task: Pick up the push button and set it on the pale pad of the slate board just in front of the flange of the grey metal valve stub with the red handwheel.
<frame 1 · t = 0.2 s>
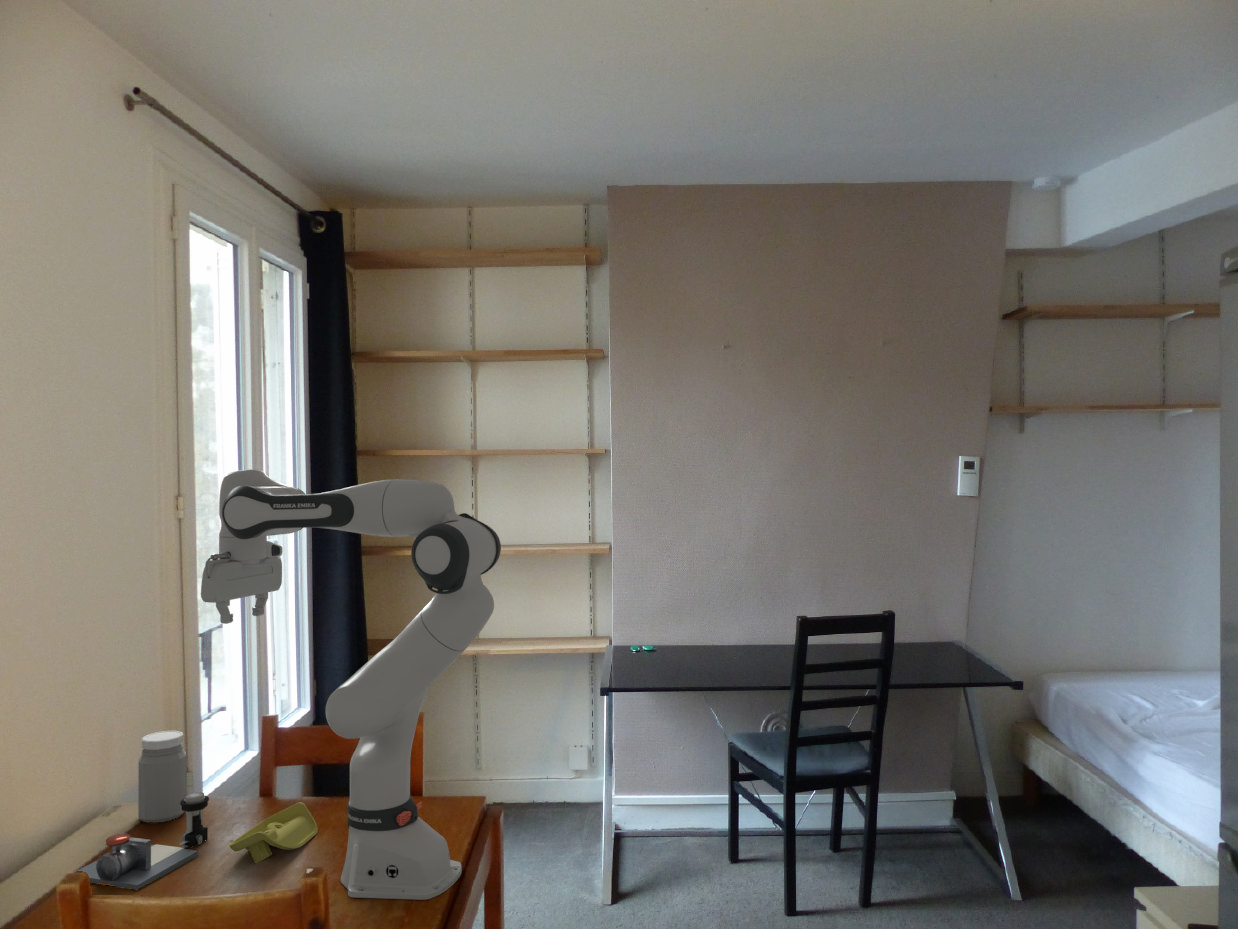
hand: (242, 619, 173), 47 cm above the table, tool pointing down, fingers open, 8 cm apart
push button: (192, 846, 178), on the table
board: (135, 867, 167), on the table
fitting: (128, 874, 165), resting on board
plastic component: (271, 850, 176), on the table
jar: (162, 817, 193), on the table
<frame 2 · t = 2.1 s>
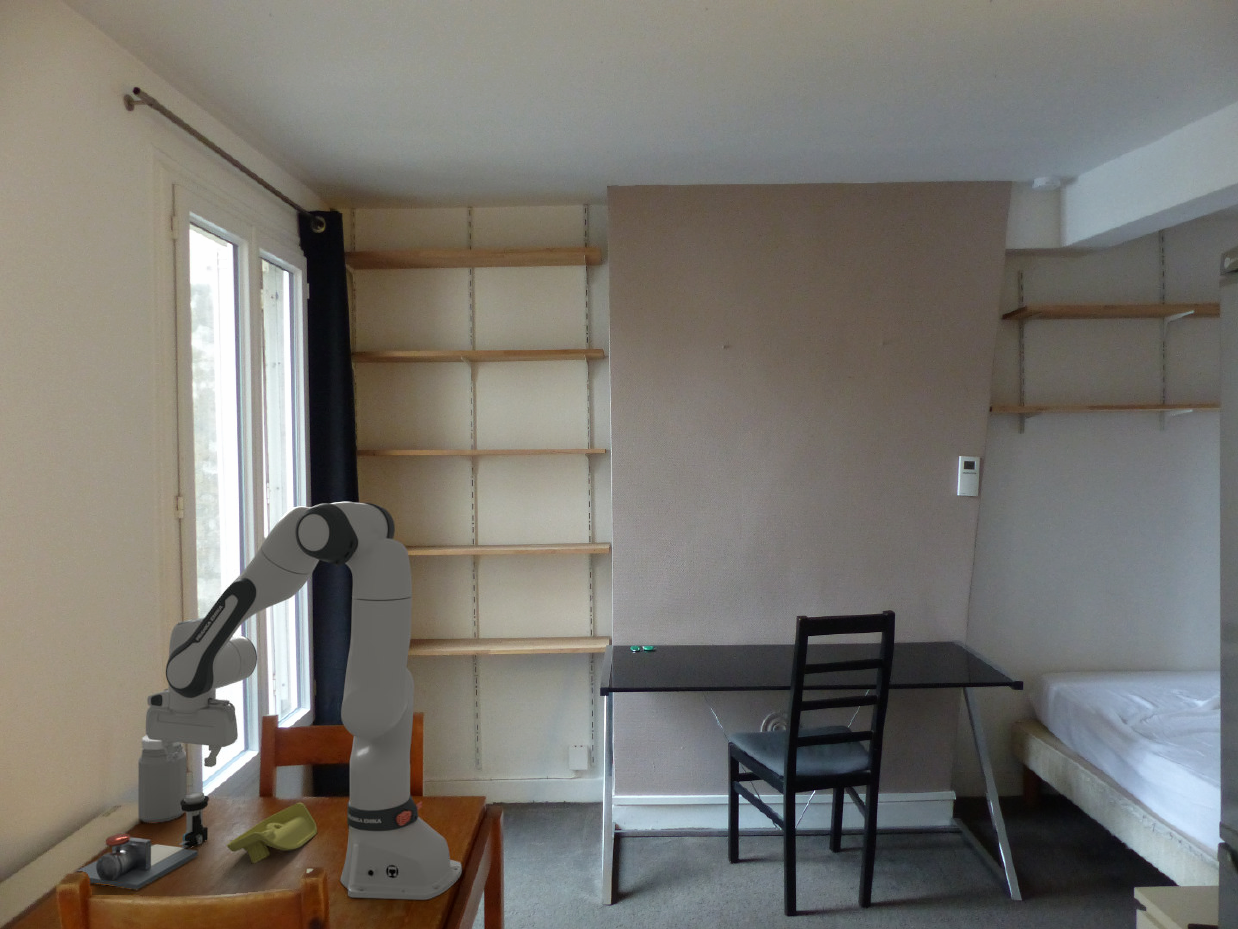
hand: (191, 763, 178), 17 cm above the table, tool pointing down, fingers open, 8 cm apart
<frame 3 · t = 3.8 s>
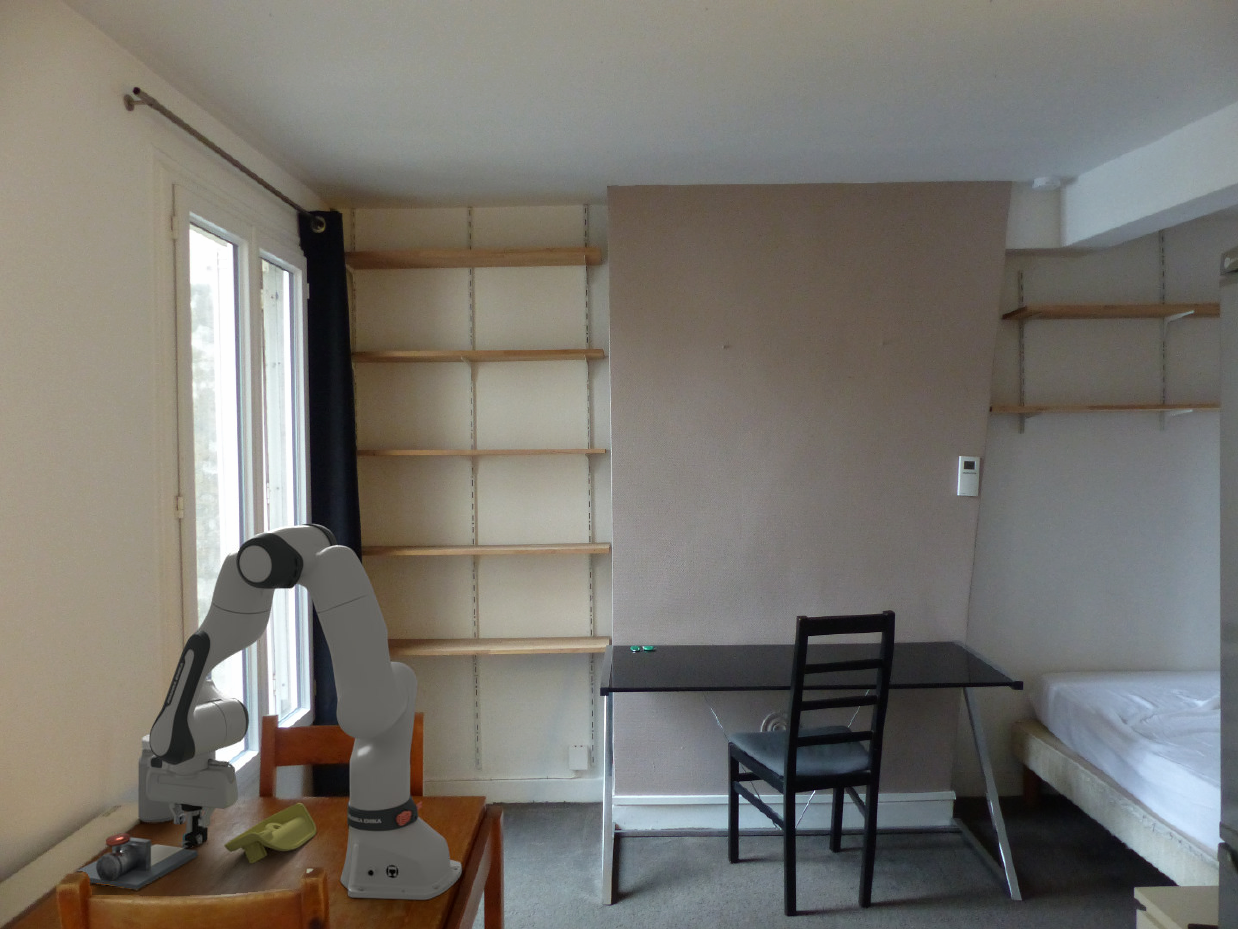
hand: (192, 825, 178), 4 cm above the table, tool pointing down, fingers closed on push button, 5 cm apart
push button: (192, 846, 178), on the table, touching gripper
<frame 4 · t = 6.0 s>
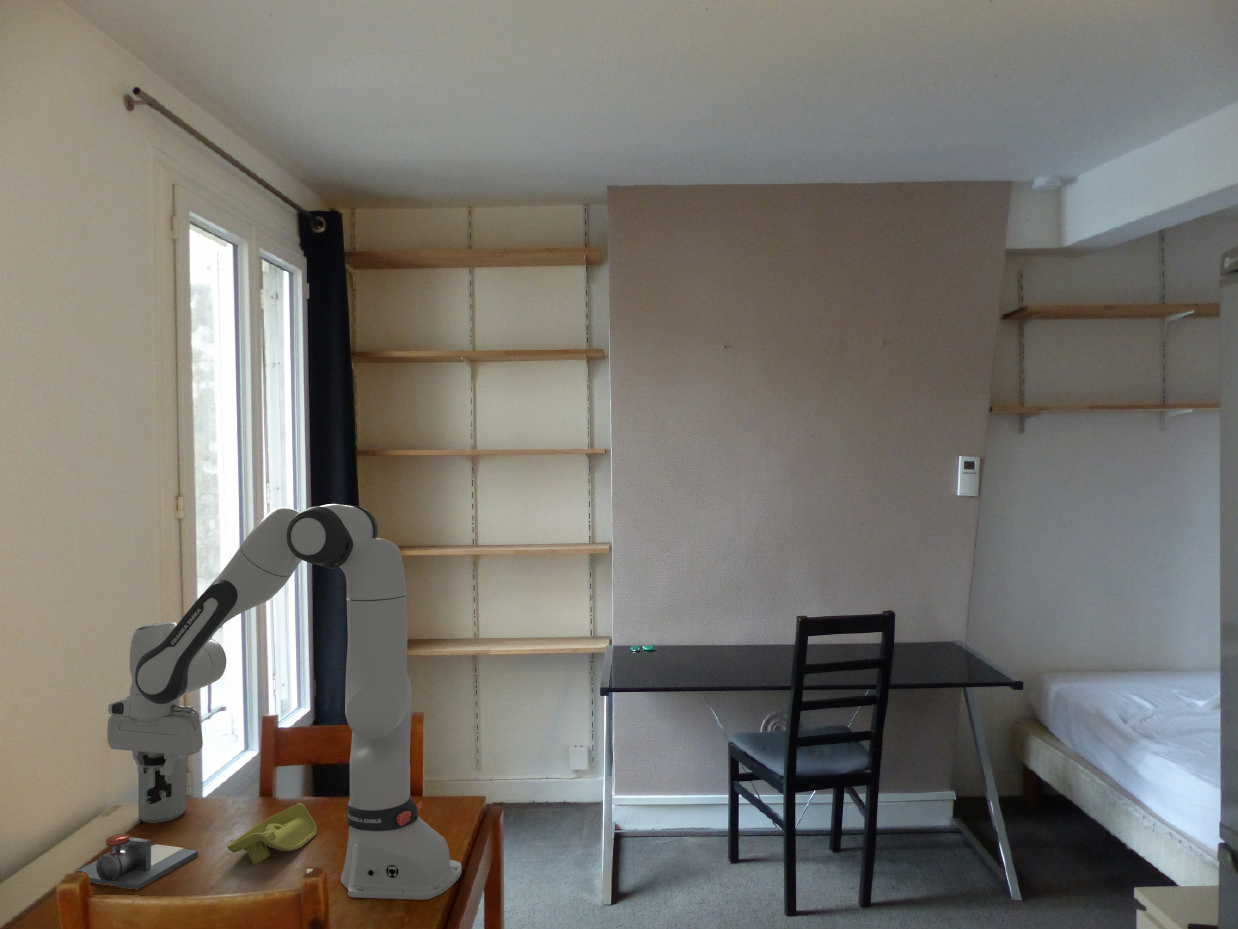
hand: (155, 774, 171), 17 cm above the table, tool pointing down, fingers closed on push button, 4 cm apart
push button: (155, 802, 171), point 11 cm above the table, touching gripper
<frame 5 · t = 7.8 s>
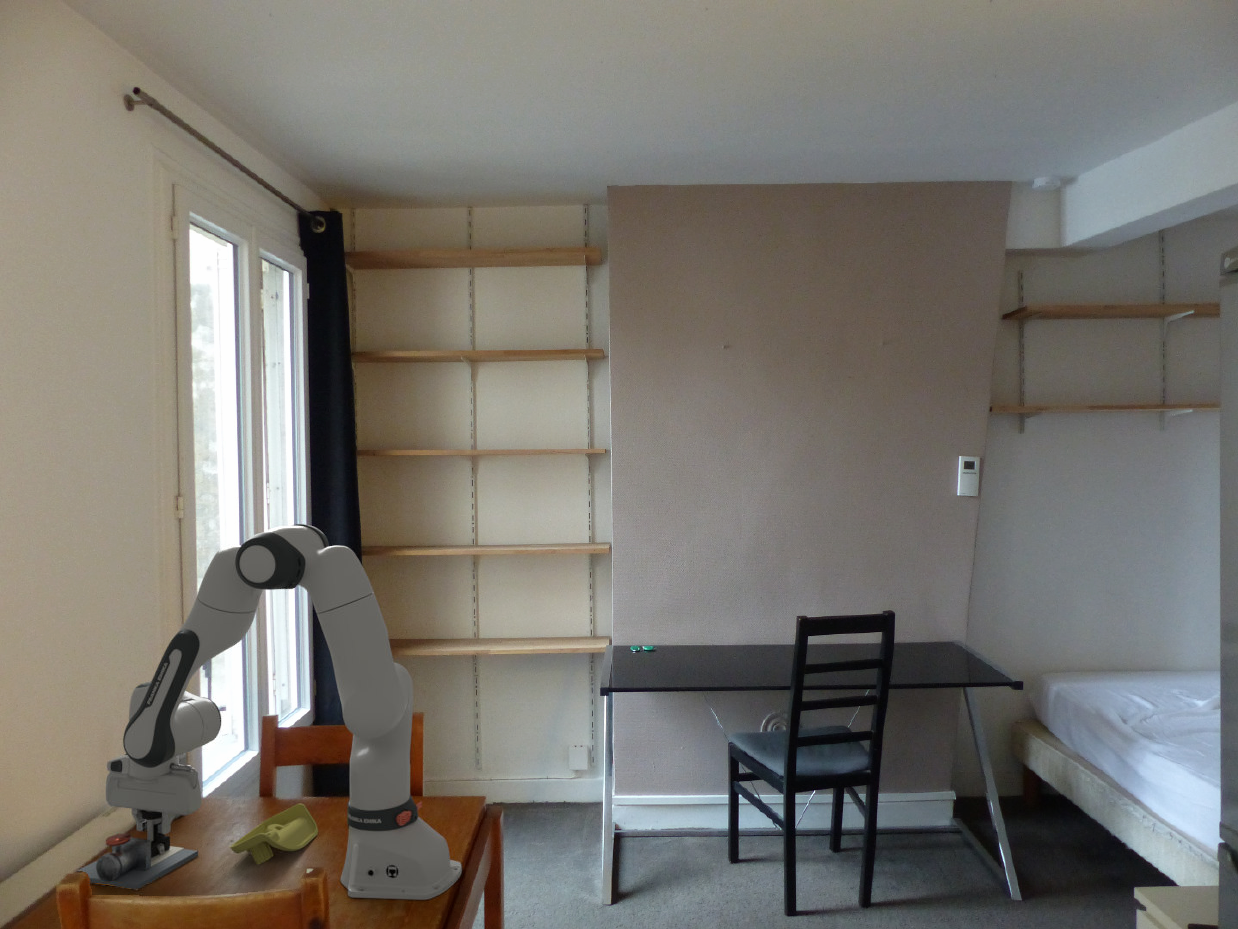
hand: (153, 831, 171), 6 cm above the table, tool pointing down, fingers closed on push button, 4 cm apart
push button: (153, 855, 171), point 1 cm above the table, touching board, gripper
when the fingers open (6 cm above the table, at t = 8.2 s): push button stays where it is, resting on board.
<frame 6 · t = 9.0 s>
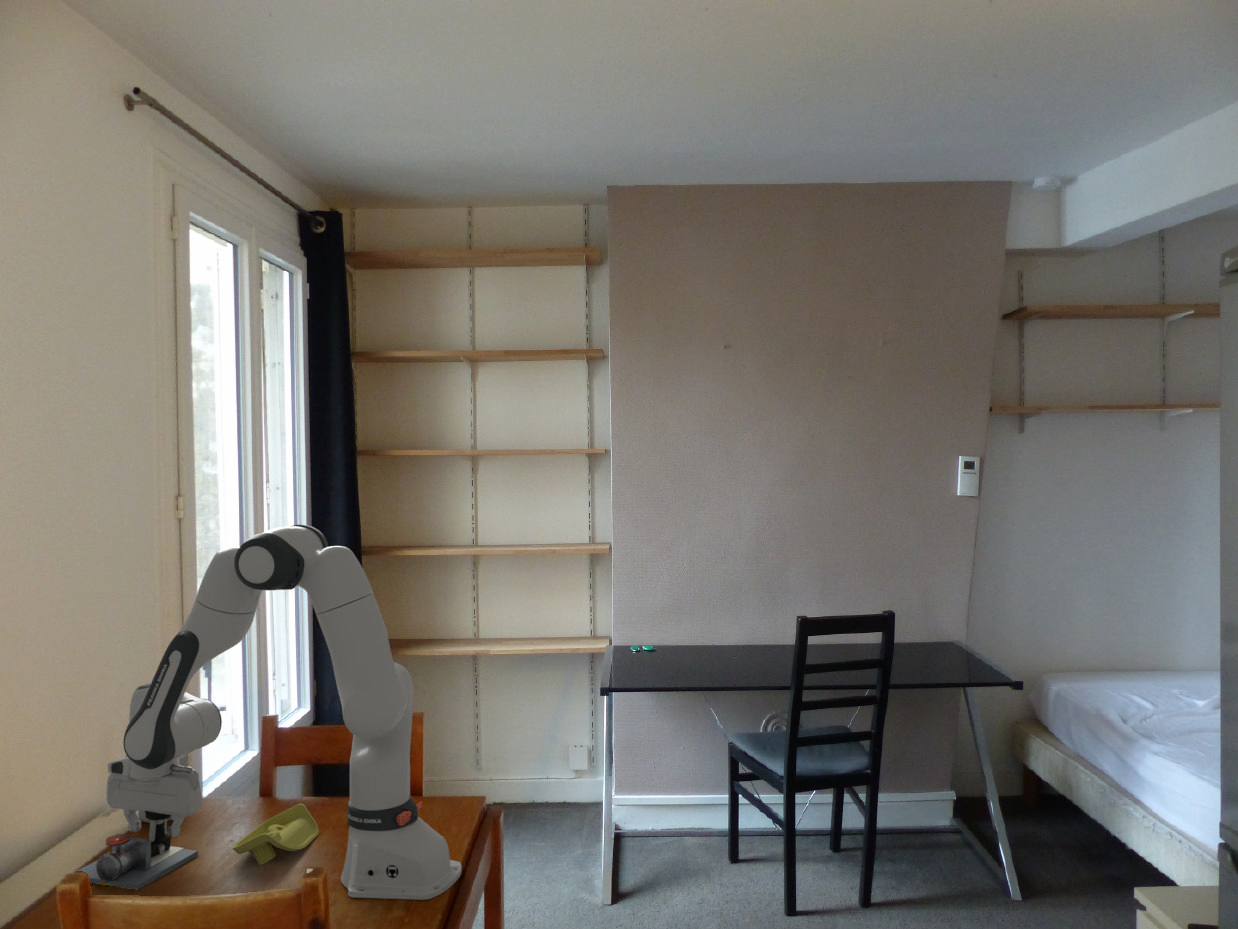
hand: (154, 833, 171), 5 cm above the table, tool pointing down, fingers open, 8 cm apart
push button: (153, 855, 171), point 1 cm above the table, touching board
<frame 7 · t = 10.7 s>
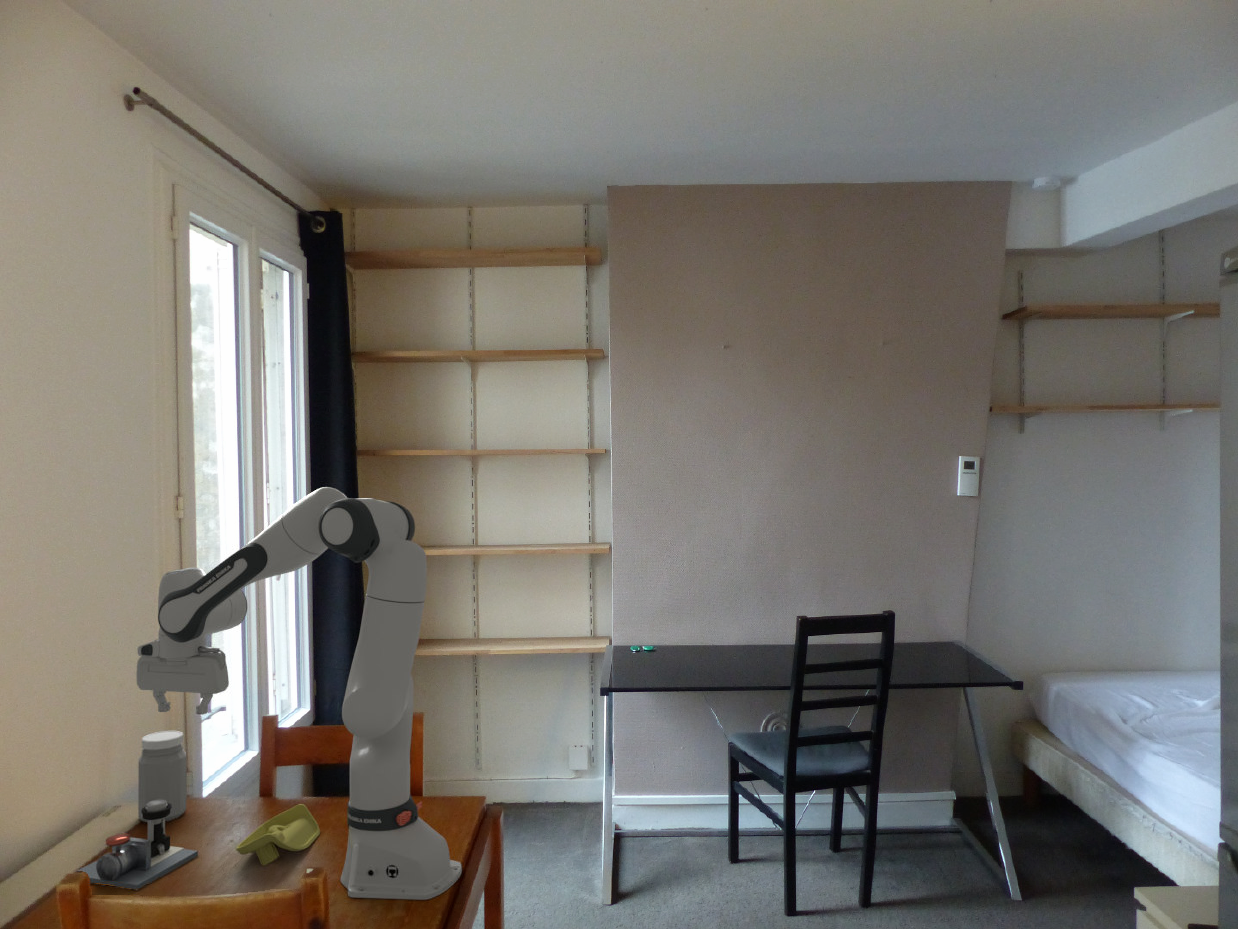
hand: (183, 712, 179), 27 cm above the table, tool pointing down, fingers open, 8 cm apart
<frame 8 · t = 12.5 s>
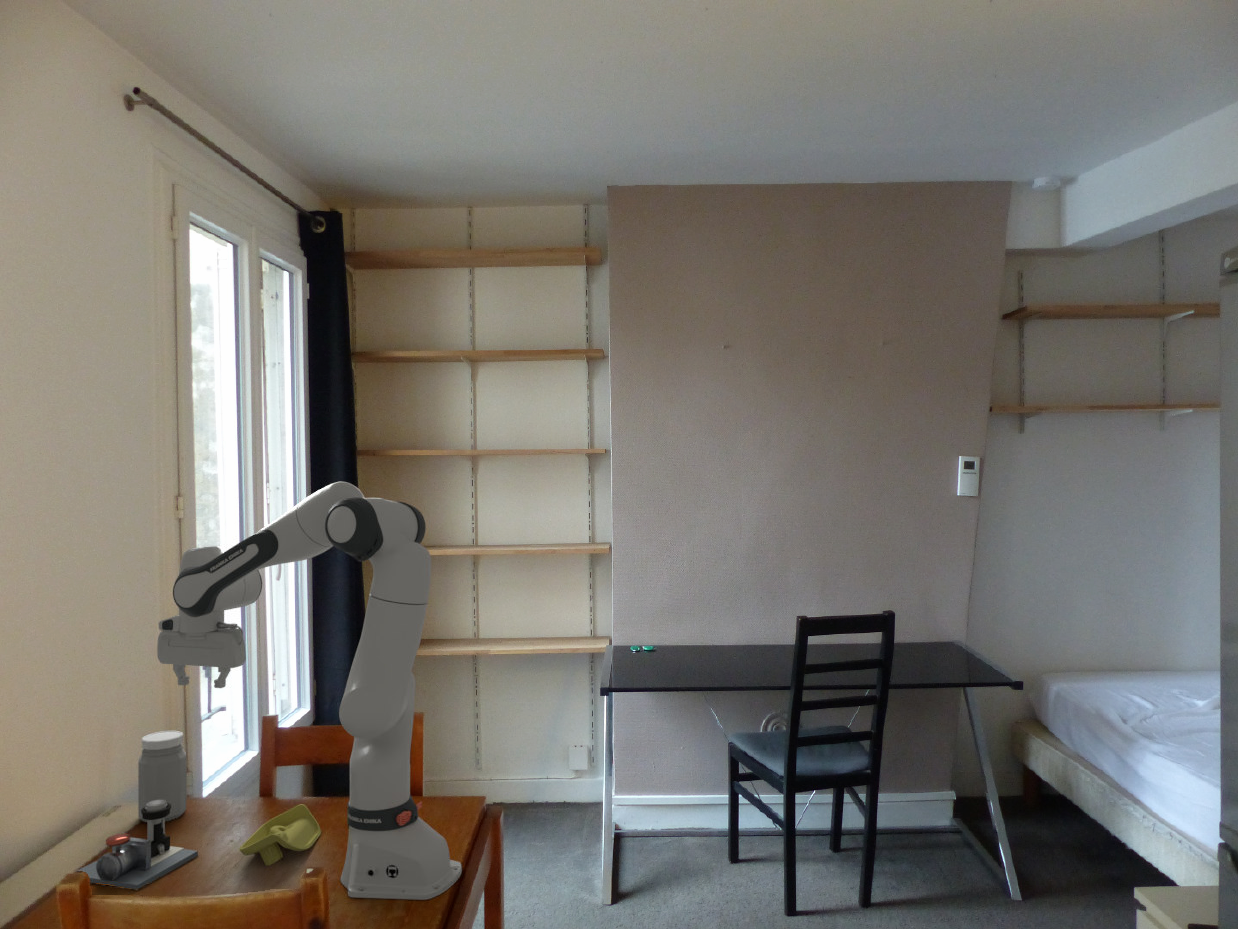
hand: (201, 686, 185), 31 cm above the table, tool pointing down, fingers open, 8 cm apart
at the end: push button 0.5 cm from the target spot on the fitting, point 0.9 cm above the fitting's base; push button tilted 0°; the gripper is holding nothing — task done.
